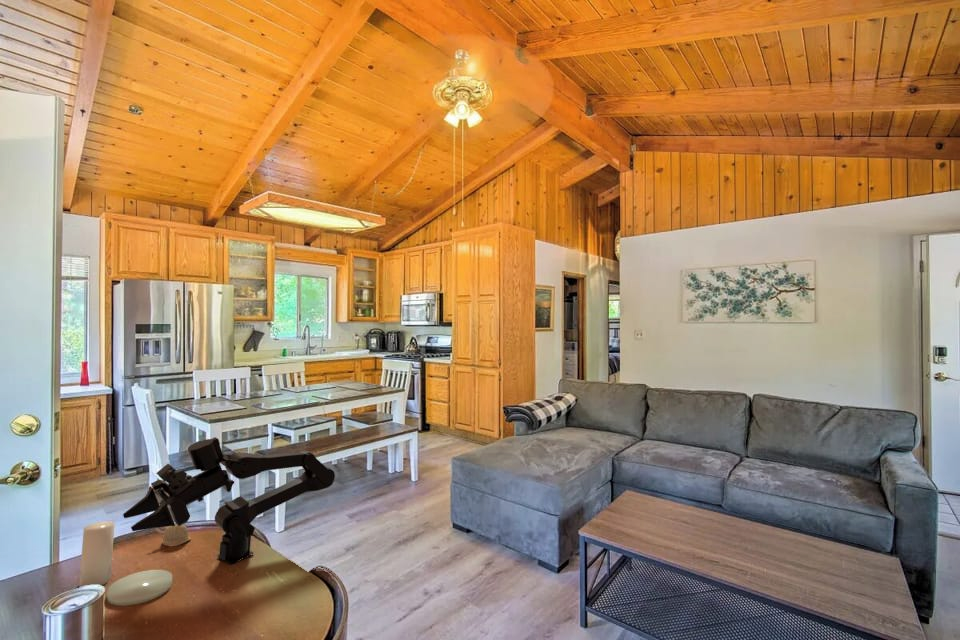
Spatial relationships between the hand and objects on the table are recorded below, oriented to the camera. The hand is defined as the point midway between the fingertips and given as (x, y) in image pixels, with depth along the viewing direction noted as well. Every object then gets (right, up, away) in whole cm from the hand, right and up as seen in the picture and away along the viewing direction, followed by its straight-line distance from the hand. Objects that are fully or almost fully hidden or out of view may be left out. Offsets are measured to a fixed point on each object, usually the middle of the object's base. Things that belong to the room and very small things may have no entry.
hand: (127, 522), depth 103 cm
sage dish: (+3, -16, 0) cm, 16 cm away
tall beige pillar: (-10, -15, +2) cm, 18 cm away
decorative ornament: (-5, -16, +23) cm, 29 cm away
